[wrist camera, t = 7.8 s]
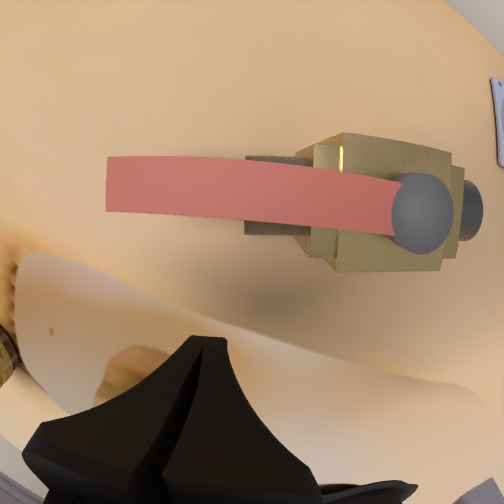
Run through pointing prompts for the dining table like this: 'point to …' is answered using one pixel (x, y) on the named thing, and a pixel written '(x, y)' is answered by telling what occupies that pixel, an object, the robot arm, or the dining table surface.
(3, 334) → the sauce bottle
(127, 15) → the dining table surface
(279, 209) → the lever
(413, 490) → the casserole
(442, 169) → the valve fixture
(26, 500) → the robot arm
